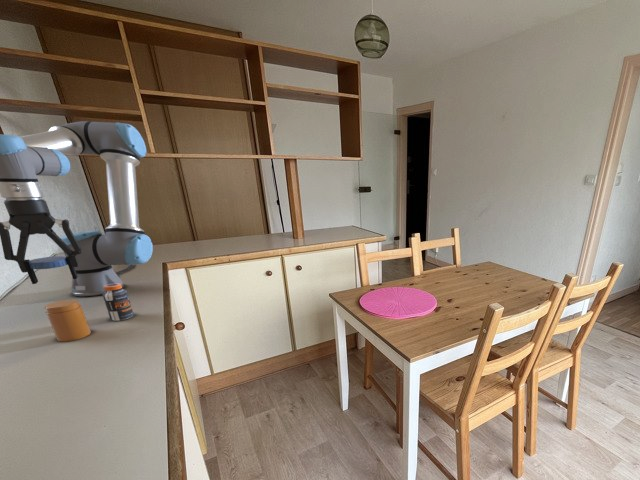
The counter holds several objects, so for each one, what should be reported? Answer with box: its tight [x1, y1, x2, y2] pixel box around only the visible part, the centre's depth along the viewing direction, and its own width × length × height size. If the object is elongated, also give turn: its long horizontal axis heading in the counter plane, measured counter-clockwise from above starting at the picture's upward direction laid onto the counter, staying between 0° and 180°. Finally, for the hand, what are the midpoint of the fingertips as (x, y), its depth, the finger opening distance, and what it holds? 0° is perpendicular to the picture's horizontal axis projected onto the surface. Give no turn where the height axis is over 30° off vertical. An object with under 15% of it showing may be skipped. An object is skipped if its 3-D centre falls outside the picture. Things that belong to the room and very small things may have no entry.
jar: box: [44, 298, 92, 342], centre depth 89 cm, size 7×7×10 cm
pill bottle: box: [102, 283, 134, 322], centre depth 101 cm, size 6×6×11 cm
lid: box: [28, 255, 68, 270], centre depth 90 cm, size 8×8×2 cm
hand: (55, 280), depth 92 cm, fingers closed on lid, 7 cm apart
